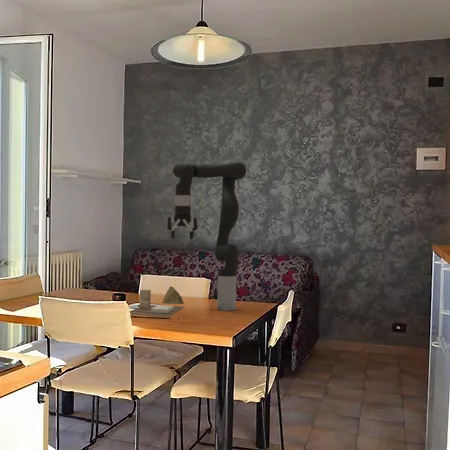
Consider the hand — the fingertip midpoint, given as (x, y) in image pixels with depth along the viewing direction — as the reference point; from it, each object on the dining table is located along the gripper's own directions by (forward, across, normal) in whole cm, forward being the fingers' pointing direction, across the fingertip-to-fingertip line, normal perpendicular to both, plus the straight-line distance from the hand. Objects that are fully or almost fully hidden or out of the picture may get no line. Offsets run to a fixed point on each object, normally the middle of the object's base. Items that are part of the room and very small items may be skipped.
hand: (182, 239), depth 253 cm
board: (+36, +13, -1) cm, 38 cm away
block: (+35, +20, -5) cm, 40 cm away
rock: (+36, +11, -23) cm, 44 cm away
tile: (+34, +9, -4) cm, 35 cm away
